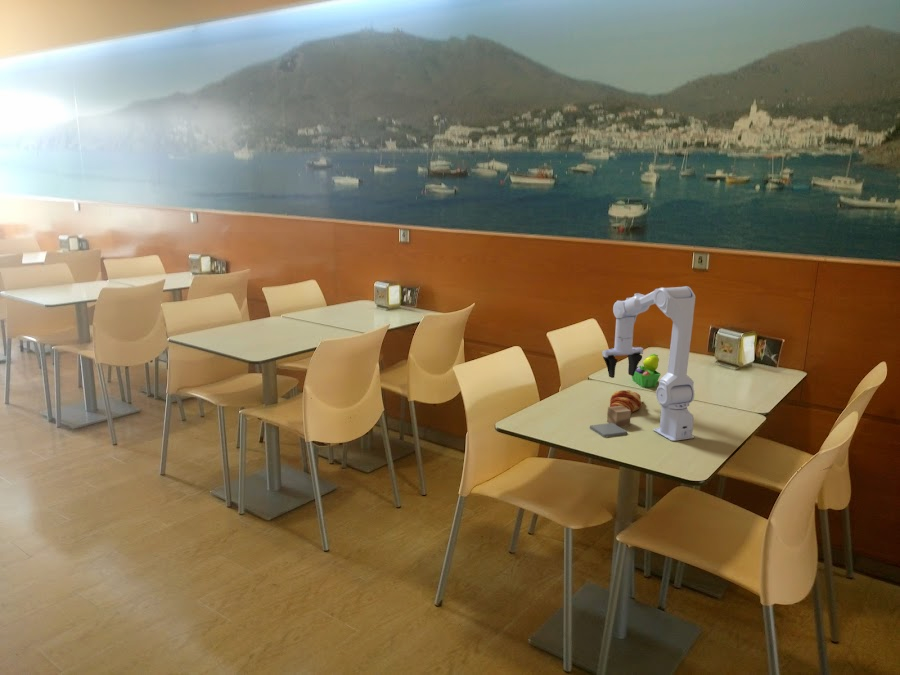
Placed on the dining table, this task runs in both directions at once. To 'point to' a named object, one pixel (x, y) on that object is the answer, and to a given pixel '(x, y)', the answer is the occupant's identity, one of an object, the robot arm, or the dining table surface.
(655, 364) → the fruit basket
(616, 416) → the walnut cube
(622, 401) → the croissant
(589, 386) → the dining table surface
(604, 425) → the slate coaster
